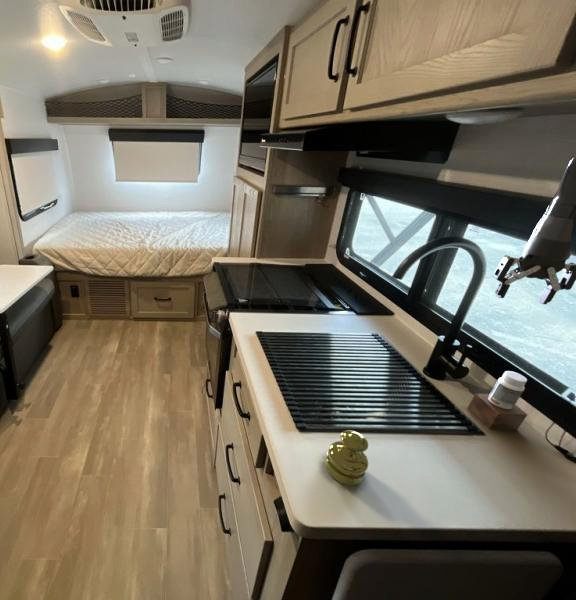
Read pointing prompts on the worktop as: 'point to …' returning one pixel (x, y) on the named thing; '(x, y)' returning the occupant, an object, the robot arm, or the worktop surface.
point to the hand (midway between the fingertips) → (520, 299)
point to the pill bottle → (507, 390)
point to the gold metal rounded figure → (348, 458)
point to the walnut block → (496, 413)
